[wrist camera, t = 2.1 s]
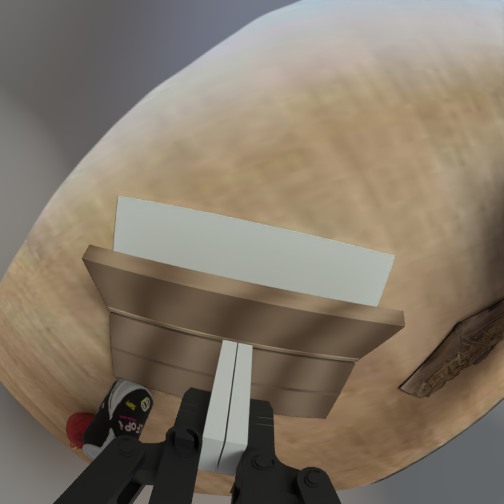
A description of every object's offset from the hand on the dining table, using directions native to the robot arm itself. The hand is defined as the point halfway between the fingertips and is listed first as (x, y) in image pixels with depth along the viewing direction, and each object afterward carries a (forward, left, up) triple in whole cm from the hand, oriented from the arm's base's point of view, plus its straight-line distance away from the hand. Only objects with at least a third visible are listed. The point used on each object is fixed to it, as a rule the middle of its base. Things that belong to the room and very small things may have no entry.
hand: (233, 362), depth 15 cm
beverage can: (+11, +19, -13) cm, 25 cm away
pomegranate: (+19, +29, -13) cm, 37 cm away
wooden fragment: (-32, +3, -13) cm, 35 cm away
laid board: (0, +11, -12) cm, 16 cm away
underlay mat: (0, +4, -12) cm, 13 cm away
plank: (0, +1, -9) cm, 9 cm away
